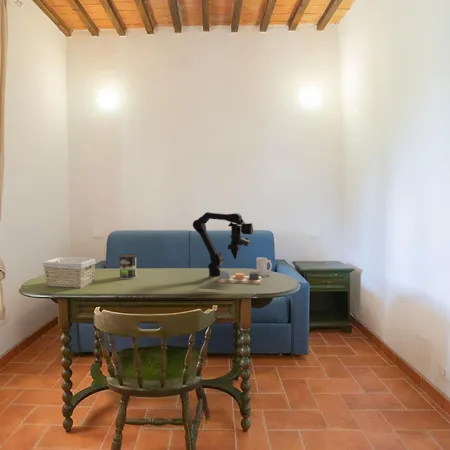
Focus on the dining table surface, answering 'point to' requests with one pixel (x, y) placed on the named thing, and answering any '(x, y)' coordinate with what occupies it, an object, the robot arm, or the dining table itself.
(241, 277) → the orange cube
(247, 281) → the birch panel
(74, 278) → the storage basket
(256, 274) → the dark grey cube
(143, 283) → the dining table surface
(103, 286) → the dining table surface
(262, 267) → the mug
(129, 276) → the coffee can
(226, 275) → the blue-grey cube
